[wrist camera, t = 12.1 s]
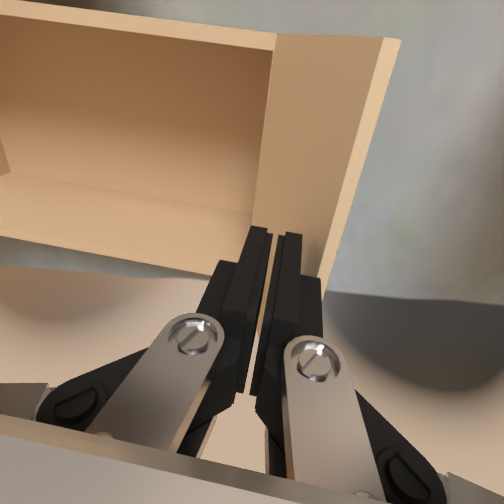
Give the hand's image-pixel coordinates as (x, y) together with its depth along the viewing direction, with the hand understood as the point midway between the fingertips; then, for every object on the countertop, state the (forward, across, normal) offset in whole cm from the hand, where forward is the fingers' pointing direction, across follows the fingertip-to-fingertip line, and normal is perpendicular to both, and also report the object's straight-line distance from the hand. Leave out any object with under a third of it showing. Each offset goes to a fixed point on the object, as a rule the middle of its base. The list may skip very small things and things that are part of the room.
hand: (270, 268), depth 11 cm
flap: (+3, 0, 0) cm, 3 cm away
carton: (+16, +13, 0) cm, 21 cm away
